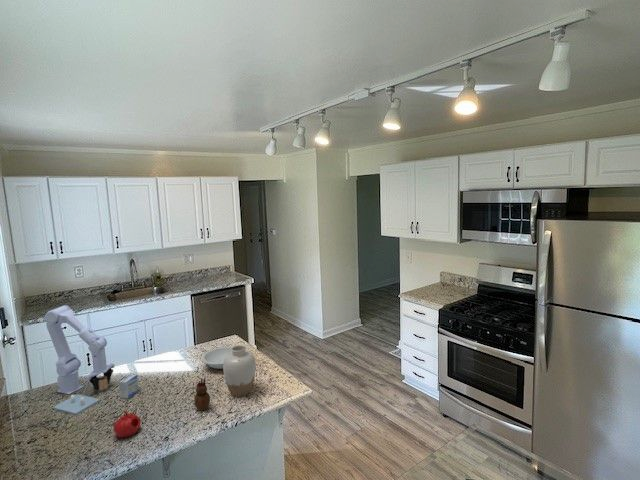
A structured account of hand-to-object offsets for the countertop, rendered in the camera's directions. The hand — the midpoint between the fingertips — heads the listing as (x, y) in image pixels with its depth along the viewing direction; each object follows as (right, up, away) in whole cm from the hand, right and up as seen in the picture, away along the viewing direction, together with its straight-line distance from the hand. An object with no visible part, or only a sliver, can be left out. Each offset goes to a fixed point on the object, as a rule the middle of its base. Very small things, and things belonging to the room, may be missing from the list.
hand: (102, 386), depth 182 cm
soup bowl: (+57, +2, +24) cm, 62 cm away
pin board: (-4, -3, -13) cm, 14 cm away
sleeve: (0, -2, 0) cm, 2 cm away
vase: (+74, 0, -6) cm, 74 cm away
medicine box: (+17, -2, -5) cm, 18 cm away
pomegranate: (+33, -5, -35) cm, 48 cm away
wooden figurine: (+59, -2, -19) cm, 62 cm away
